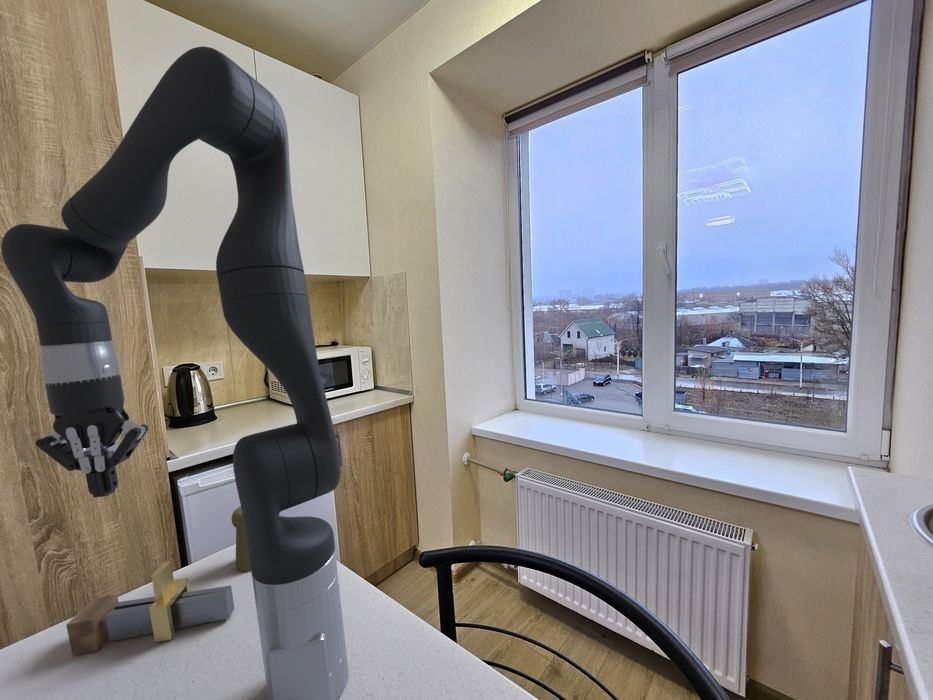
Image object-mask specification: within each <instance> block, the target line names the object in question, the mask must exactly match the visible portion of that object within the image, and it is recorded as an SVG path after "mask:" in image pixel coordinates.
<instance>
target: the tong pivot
mask: <svg viewBox="0 0 933 700" xmlns="http://www.w3.org/2000/svg"><path fill="white" fill-rule="evenodd" d="M118 596H119V595H118V594H112V595H105V596H101V597H100V596H99V597H94V598H93V599H91V601H89V602H88V603H87V604H86V605H85V606H84V607H83V608H82V609H81V610H80V611H79V612H78V613H77V614H75V615H74V616H73V618H72V619H70V620H69V621H68V622H67V623H66V624H65V625H66V631H67V636H68V639H69V640H68V641H69V644H70V650H71V656H72V657H77V656H82V655H83V656H84V655H88V654H94V653H99V652H100V650H101V649H102V648H103V647H104V646H105V645H106V644H107V642H108V641H110V639H109V634H108V629H107V623H106V618H105V616H106V615H107V614H108V613H109V612H110V611H112V610H114V606H115V605H116V604H117V603H118V602H120V601H119V597H118Z"/></svg>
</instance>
